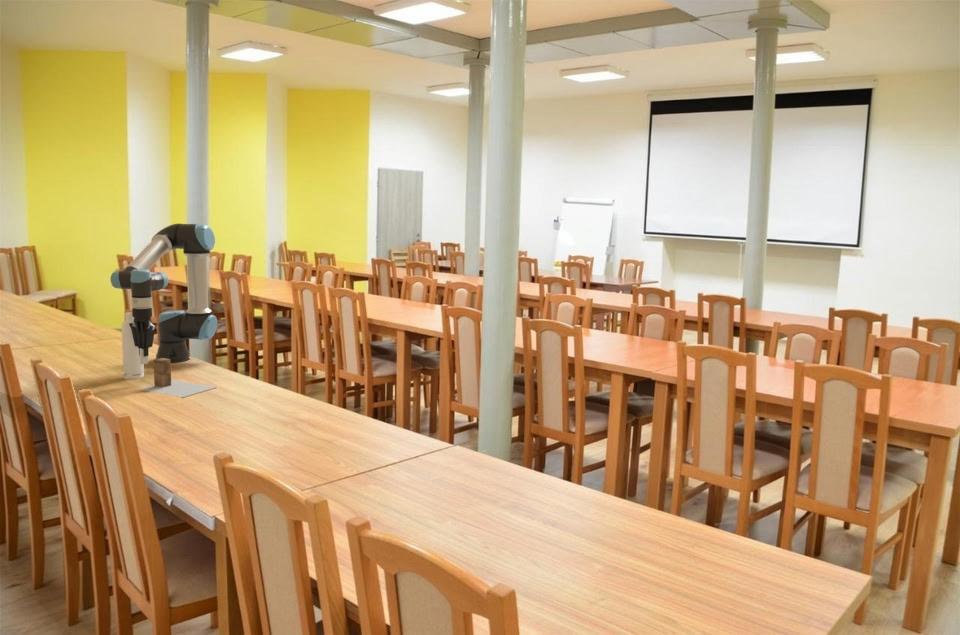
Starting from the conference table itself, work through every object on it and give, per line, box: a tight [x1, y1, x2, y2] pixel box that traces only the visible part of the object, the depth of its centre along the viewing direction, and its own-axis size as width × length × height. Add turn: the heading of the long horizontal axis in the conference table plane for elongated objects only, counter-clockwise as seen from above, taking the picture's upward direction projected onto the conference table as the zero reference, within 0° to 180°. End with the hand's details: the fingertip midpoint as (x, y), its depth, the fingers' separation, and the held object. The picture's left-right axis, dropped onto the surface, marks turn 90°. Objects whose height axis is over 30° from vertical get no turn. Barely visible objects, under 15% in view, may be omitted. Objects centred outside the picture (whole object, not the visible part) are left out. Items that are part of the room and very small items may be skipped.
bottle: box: [121, 311, 145, 380], centre depth 322 cm, size 8×8×28 cm
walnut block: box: [153, 358, 172, 388], centre depth 309 cm, size 4×4×11 cm
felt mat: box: [138, 379, 217, 399], centre depth 307 cm, size 18×24×1 cm
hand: (144, 363), depth 313 cm, fingers closed
